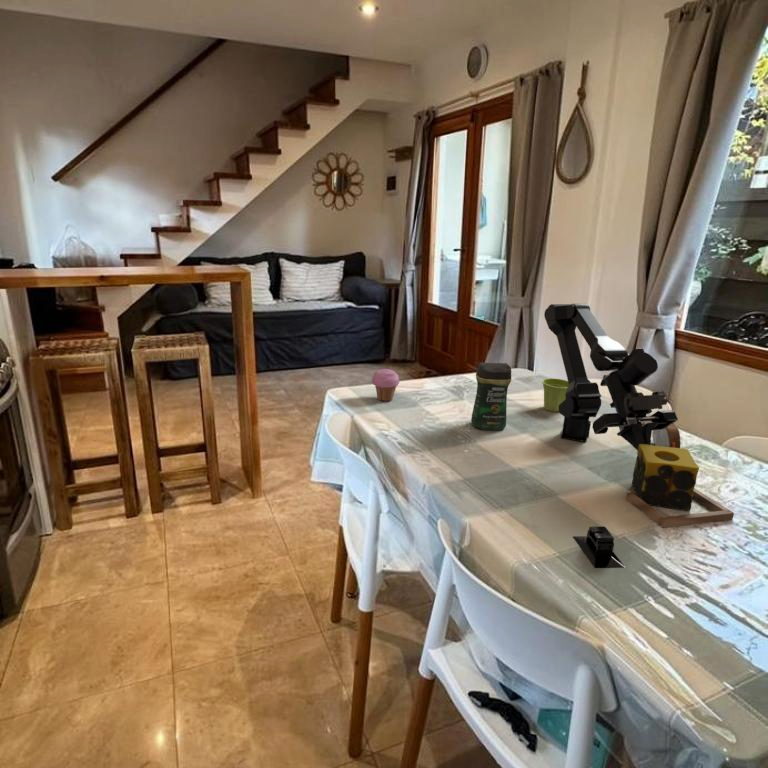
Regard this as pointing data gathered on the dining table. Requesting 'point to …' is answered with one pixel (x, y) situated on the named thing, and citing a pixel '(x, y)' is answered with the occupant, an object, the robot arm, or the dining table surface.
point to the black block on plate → (599, 548)
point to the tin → (667, 437)
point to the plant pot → (554, 393)
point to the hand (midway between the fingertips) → (647, 457)
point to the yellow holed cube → (665, 476)
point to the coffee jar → (491, 396)
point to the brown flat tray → (717, 515)
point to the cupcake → (385, 383)
